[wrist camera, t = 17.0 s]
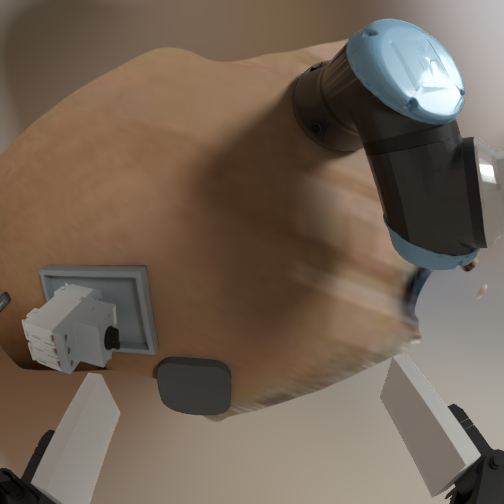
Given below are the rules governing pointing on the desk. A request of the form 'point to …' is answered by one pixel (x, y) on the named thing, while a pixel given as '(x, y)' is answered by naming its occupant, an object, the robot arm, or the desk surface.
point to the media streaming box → (194, 385)
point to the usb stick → (4, 300)
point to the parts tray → (113, 298)
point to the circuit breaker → (72, 329)
